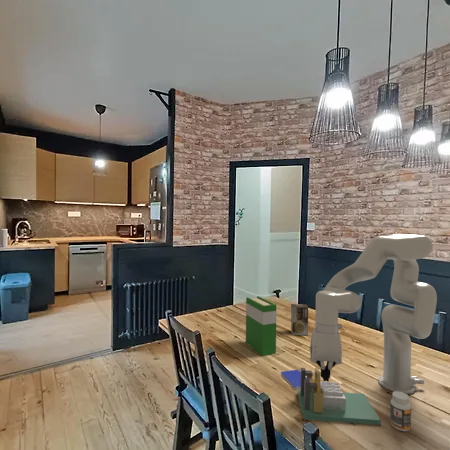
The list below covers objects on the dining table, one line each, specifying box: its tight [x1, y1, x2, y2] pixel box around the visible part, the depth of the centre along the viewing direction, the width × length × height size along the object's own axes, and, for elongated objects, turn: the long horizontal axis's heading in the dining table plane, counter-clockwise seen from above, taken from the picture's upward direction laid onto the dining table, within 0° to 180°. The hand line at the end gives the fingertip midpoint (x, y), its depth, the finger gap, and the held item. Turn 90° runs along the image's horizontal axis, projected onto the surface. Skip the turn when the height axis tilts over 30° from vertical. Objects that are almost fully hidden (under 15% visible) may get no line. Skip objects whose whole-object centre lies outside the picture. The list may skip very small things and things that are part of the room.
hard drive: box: [280, 369, 307, 391], centre depth 125 cm, size 2×8×12 cm
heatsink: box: [320, 380, 346, 412], centre depth 107 cm, size 8×10×6 cm
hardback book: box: [245, 295, 277, 357], centre depth 156 cm, size 18×7×24 cm, turn 23°
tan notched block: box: [306, 367, 323, 413], centre depth 107 cm, size 3×14×10 cm, turn 175°
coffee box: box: [290, 303, 309, 336], centre depth 176 cm, size 9×6×16 cm
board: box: [296, 367, 382, 426], centre depth 106 cm, size 24×15×11 cm, turn 85°
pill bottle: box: [389, 391, 412, 432], centre depth 97 cm, size 6×6×10 cm
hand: (325, 379), depth 107 cm, fingers closed
